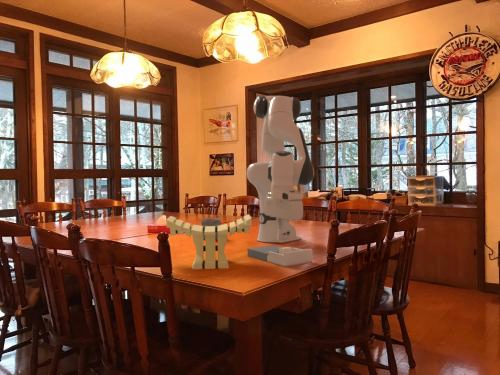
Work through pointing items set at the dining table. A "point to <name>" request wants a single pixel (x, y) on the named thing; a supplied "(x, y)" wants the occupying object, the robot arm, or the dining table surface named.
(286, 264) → the box
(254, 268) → the dining table surface
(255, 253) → the board
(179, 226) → the slatted curved stool
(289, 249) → the tile cream
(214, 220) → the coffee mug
